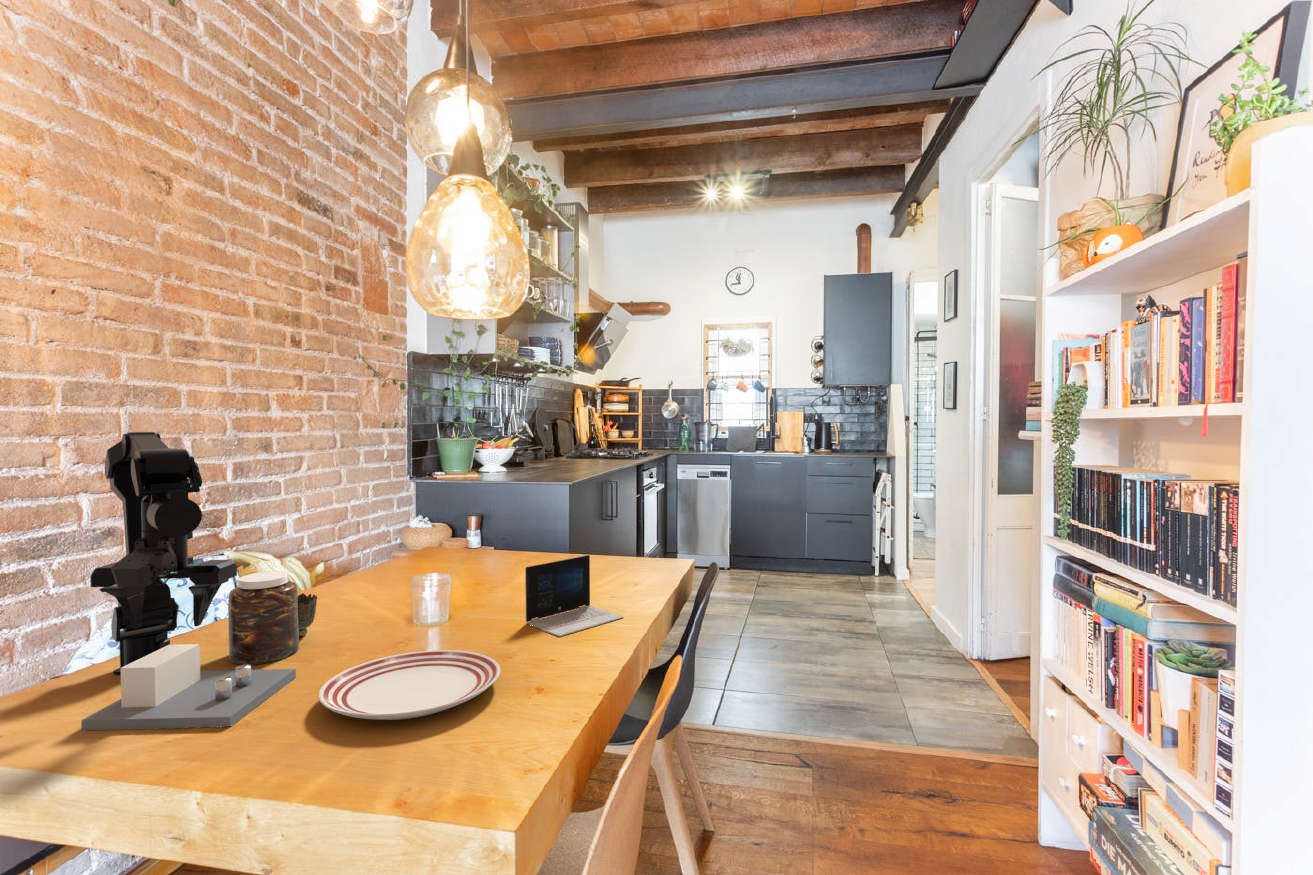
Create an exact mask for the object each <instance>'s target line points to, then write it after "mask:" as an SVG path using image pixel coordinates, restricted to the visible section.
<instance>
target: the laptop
mask: <svg viewBox="0 0 1313 875" xmlns="http://www.w3.org/2000/svg"><path fill="white" fill-rule="evenodd" d="M590 559H591V557H590V555H589V554H586V555H580V556H576V557H571V558H565V559H561V560H560V559H559V560H554V561H549V562H545V563H544V562H543V563H540V564H539V563H538V564H535V565H529V566H526V567H525V569H524V572H525V573H524V574H525V575H524V576H525V578H524V579H525V580H524V581H525V582H524V583H525V584H524V585H525V622H526V625H527V624H528V626H529V625H531V626H530V627H532V625H533V627H532V628H534V627H535V629H537V628H538V630H540V631H542V632H544V633H547V634H549V635H553V636H556V637H559V638H560V637H564V636H567V635H570V634H574V633H577V632H582V631H583V630H587V629H591V628H595V627H598V626H601V625H604V624H607V623H611V621H612V622H614V621H618V620H621V619H624V616H623V615H620V614H617V613H615V612H611V611H608V610H605V609H602V608H599V607H595V606H592V605H591V583H590V582H591V576H590V574H591V571H590V570H591V568H590V566H591V565H590V562H591V561H590Z"/></svg>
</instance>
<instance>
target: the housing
mask: <svg viewBox="0 0 1313 875" xmlns="http://www.w3.org/2000/svg"><path fill="white" fill-rule="evenodd" d="M200 646H201V644H200V643H199V644H198V643H197V644H195V643H194V644H193V643H191V644H170V645H167V646H165V647H163V648H161V649H159V650H157V651H155V652H153V653H151V654H149V655H146V656H144V657H142V658H140V659H138V660H136V661H134V662H132V663H130V664H128V665H126V666H124V667H122V668H121V674H120V694H121V695H120V696H121V697H120V699H121V707H156V706H158V705H159V704H161V703H163V702H164V701H166V700H168V699H169V698H171V697H173V696H174V695H176V694H178V693H179V692H181V691H183V690H184V689H186V688H188V687H189V686H191V685H193V684H194V683H196V682H198V681H199V680H200V671H201V653H200V652H201V651H200V650H201V647H200Z"/></svg>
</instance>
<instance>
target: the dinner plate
mask: <svg viewBox="0 0 1313 875" xmlns="http://www.w3.org/2000/svg"><path fill="white" fill-rule="evenodd" d="M500 675H501V667H500V664H499V663H498V662H497V661H496V660H495V659H493V658H492V657H489V656H488V655H484V654H482V653H478V652H474V651H473V652H472V651H467V650H457V649H455V650H454V649H437V650H434V649H433V650H420V651H419V650H418V651H413V652H411V651H410V652H405V653H398V654H395V655H394V654H393V655H389V656H384V657H381V658H377V659H373V660H369V661H366V662H363V663H360V664H357V665H355V666H352V667H349V668H347V669H345V670H342V671H341V672H340V673H338V674H336V675H334V676H333V677H331V678H329V680H327V681H326V682H325V683H324V684H323V685H322V686H321V687H320V690H319V691H318V700H319V703H321V705H322V706H324V707H325V708H326V709H328V710H330V711H332V712H334V713H337V714H340V715H343V716H346V717H352V718H357V719H362V720H378V721H379V720H380V721H399V720H409V719H416V718H422V717H426V716H431V715H433V714H436V713H440V712H443V711H445V710H449V709H450V708H454V707H456V706H458V705H462V704H464V703H465V702H468V701H470V700H471V699H474V698H476V697H477V696H479V695H480V694H481V693H483V692H484V691H486V690H488V688H490V687H491V686H492V685H493V684H494V683H495V682H496V681H497V679H498V678H499V677H500Z"/></svg>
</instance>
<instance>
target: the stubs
mask: <svg viewBox="0 0 1313 875" xmlns="http://www.w3.org/2000/svg"><path fill="white" fill-rule="evenodd" d="M234 670H235V687H237V688H242V687H247V686H249V685H251V670H252V665H250V664H244V665H240V664H239V665H237V666H235V667H234ZM230 698H232V677H230V676H226V677H221V678H218V679H216V680H215V701H225V700H228V699H230Z"/></svg>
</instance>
